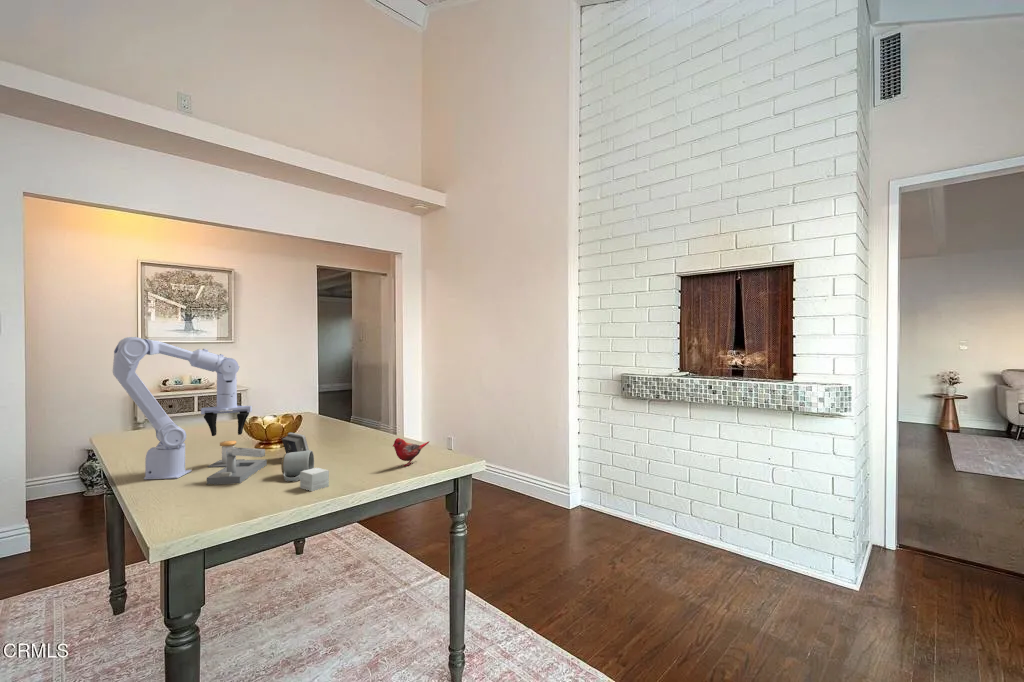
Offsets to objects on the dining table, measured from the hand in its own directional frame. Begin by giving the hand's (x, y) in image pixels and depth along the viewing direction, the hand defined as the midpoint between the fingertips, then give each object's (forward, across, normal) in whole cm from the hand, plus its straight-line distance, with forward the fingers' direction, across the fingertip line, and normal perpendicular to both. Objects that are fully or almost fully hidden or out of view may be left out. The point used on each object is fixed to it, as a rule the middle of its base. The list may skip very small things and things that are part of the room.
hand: (227, 434), depth 156 cm
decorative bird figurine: (+11, +59, -13) cm, 62 cm away
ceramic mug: (+11, +25, -19) cm, 33 cm away
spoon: (+3, +10, -18) cm, 21 cm away
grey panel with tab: (+10, +6, -11) cm, 17 cm away
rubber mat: (+10, -1, +3) cm, 11 cm away
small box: (+11, +31, -31) cm, 45 cm away
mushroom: (+10, -1, +3) cm, 10 cm away
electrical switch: (+11, +21, +4) cm, 24 cm away
